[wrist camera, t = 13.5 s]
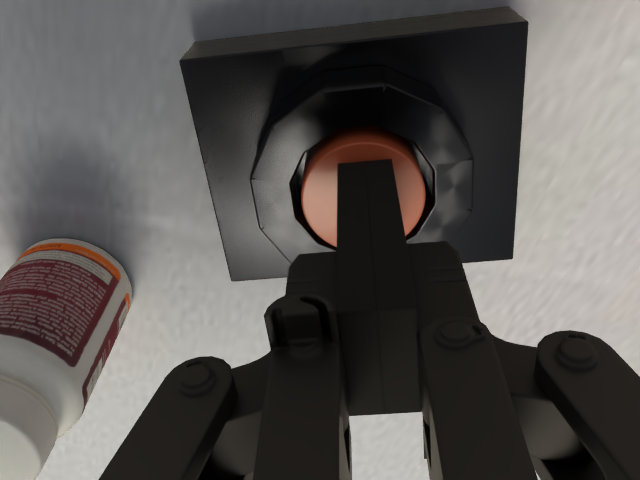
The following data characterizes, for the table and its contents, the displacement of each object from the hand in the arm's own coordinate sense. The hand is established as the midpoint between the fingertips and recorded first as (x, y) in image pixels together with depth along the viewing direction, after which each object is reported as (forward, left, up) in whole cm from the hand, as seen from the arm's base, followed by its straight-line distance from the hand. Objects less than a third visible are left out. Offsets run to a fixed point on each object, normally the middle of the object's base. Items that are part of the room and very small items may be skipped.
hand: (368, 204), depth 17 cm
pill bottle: (-12, -5, -5) cm, 14 cm away
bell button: (0, 0, -2) cm, 2 cm away
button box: (0, 0, -5) cm, 5 cm away
